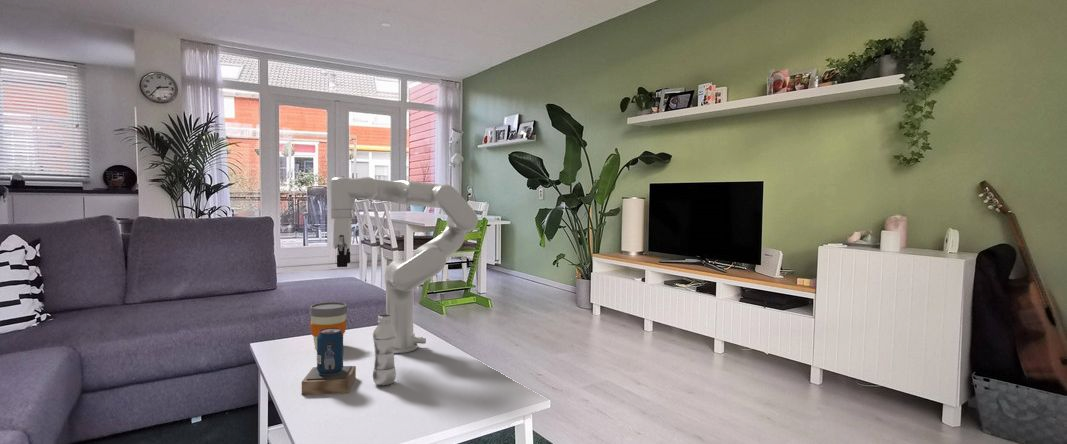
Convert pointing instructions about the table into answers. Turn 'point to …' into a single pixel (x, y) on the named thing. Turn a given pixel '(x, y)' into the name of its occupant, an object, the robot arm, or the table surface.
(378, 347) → the plastic bottle
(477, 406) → the table surface
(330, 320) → the reusable coffee cup
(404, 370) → the table surface
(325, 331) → the soda can
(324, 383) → the walnut base
